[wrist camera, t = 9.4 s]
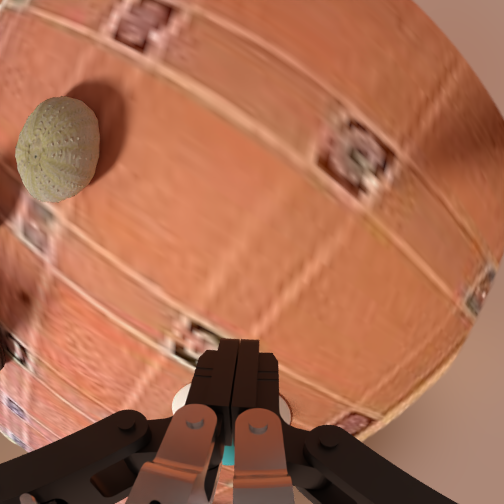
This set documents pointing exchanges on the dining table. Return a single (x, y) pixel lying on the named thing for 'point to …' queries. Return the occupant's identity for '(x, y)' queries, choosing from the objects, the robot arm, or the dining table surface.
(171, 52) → the dining table surface
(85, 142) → the sea urchin shell
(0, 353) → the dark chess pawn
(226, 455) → the ball
